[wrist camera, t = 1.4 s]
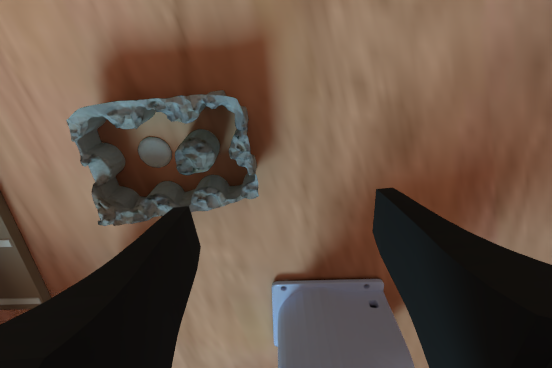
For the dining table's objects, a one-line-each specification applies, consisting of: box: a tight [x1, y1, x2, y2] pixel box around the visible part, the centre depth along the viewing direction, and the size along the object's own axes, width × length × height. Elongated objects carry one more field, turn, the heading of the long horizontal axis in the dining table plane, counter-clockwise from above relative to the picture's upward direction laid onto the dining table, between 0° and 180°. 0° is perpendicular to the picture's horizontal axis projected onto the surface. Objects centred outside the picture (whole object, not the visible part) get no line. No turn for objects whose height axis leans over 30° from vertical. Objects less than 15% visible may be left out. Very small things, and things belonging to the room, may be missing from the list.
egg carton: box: [67, 90, 259, 226], centre depth 19 cm, size 11×8×4 cm
